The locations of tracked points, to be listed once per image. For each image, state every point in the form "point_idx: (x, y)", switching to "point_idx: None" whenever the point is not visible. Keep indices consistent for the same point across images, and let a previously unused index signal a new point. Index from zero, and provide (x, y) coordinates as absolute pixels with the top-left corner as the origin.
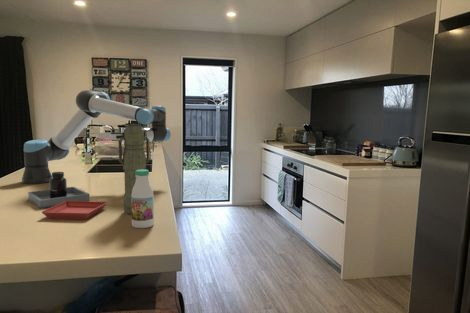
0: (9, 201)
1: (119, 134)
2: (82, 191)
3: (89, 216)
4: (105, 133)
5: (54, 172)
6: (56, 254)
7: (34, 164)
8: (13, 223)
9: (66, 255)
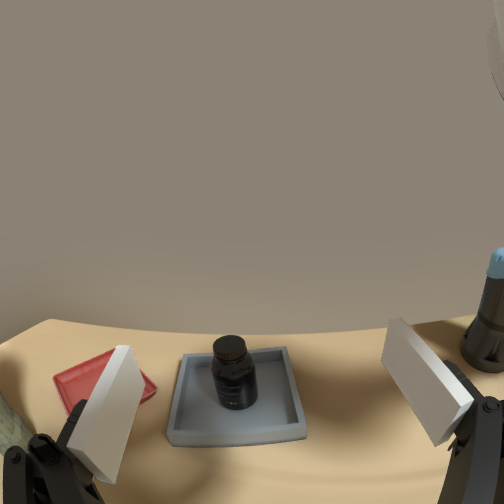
0: (288, 339)
1: (80, 420)
2: (210, 431)
3: (65, 392)
4: (423, 368)
5: (234, 338)
6: (25, 336)
7: (481, 310)
8: (137, 335)
9: (17, 339)
